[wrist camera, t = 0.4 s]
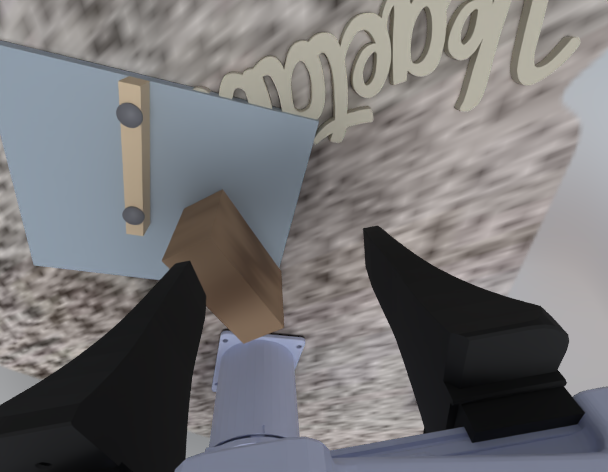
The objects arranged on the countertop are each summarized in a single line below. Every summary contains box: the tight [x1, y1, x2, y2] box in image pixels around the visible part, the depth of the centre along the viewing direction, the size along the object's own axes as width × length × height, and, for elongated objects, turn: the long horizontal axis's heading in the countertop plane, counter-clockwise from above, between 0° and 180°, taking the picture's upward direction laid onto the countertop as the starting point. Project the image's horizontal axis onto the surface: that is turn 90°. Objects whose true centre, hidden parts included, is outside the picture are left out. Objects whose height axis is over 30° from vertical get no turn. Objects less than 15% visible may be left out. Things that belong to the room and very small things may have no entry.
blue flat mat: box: [0, 40, 319, 280], centre depth 21 cm, size 14×17×3 cm
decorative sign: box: [192, 0, 580, 144], centre depth 18 cm, size 26×1×10 cm
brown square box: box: [162, 189, 284, 344], centre depth 21 cm, size 8×3×6 cm, turn 26°
